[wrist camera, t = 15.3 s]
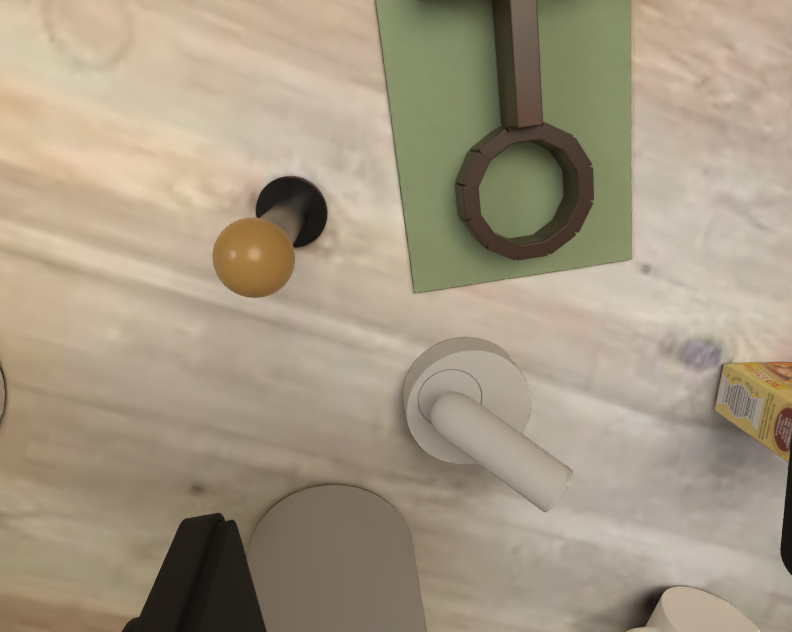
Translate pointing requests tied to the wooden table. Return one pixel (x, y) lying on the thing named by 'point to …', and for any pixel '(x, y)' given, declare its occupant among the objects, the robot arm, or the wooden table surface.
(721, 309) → the wooden table surface
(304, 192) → the peg stand
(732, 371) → the candy box
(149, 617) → the robot arm
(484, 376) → the wall hook
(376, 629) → the cylinder vase
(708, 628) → the mug
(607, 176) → the felt mat
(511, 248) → the hanger
